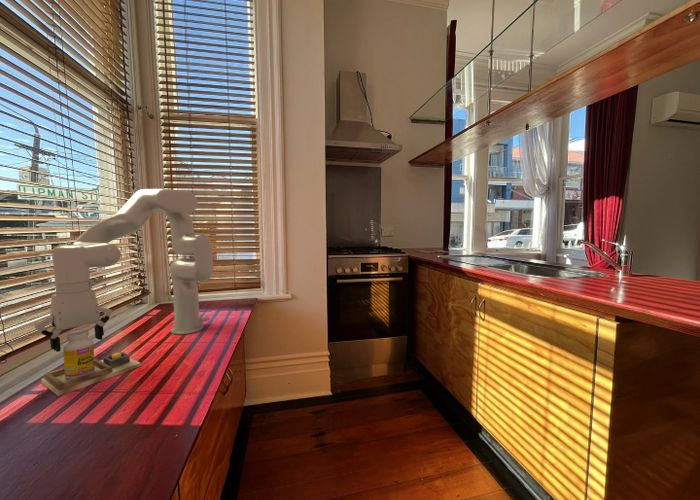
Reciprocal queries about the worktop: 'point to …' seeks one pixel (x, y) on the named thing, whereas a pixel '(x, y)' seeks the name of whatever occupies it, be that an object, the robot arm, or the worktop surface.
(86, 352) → the supplement bottle
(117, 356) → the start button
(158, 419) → the worktop surface
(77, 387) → the beige tray
